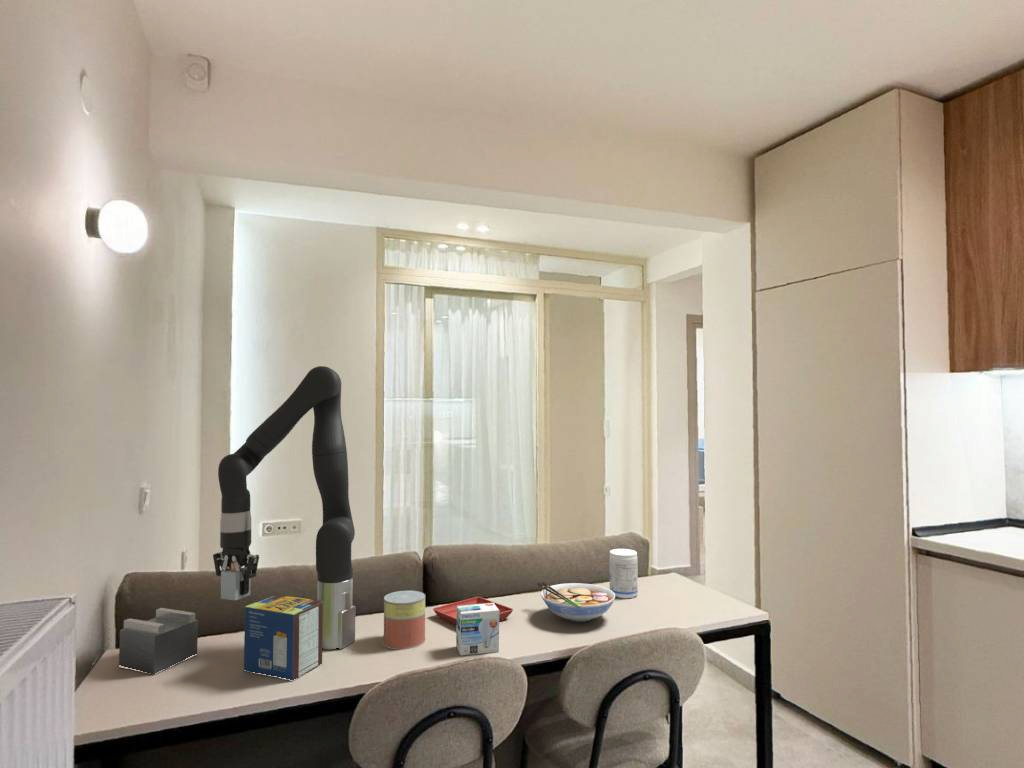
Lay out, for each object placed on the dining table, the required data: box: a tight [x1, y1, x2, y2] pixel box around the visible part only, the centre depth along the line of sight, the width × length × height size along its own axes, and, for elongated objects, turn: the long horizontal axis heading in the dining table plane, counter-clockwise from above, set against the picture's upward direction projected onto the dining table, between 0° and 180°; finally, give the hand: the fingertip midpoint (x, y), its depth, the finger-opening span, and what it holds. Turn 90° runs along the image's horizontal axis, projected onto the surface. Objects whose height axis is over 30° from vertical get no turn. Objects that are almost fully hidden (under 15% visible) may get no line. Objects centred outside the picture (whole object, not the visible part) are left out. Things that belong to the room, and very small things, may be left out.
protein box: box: [243, 594, 323, 681], centre depth 142 cm, size 10×15×16 cm
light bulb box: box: [455, 603, 500, 656], centre depth 153 cm, size 11×7×11 cm, turn 105°
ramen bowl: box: [536, 581, 616, 623], centre depth 176 cm, size 25×23×8 cm
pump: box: [220, 563, 251, 601], centre depth 153 cm, size 5×5×9 cm
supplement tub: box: [608, 548, 639, 599], centre depth 199 cm, size 10×10×15 cm
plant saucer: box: [432, 596, 514, 626], centre depth 176 cm, size 18×18×3 cm
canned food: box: [383, 589, 426, 650], centre depth 159 cm, size 11×11×12 cm
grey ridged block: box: [118, 607, 199, 675], centre depth 146 cm, size 12×12×11 cm
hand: (235, 593), depth 153 cm, fingers closed on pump, 5 cm apart
